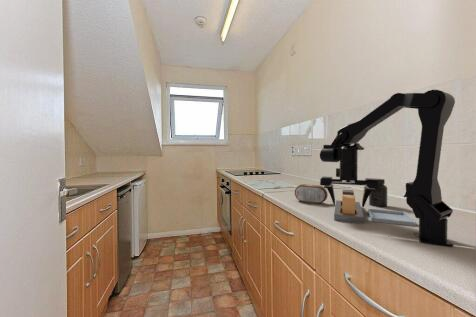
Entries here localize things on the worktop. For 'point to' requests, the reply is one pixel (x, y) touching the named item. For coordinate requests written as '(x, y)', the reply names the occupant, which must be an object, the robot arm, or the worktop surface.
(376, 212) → the tray
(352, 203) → the orange block
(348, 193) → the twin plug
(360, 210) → the grey slotted frame
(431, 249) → the worktop surface
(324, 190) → the portable speaker
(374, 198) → the supplement bottle
